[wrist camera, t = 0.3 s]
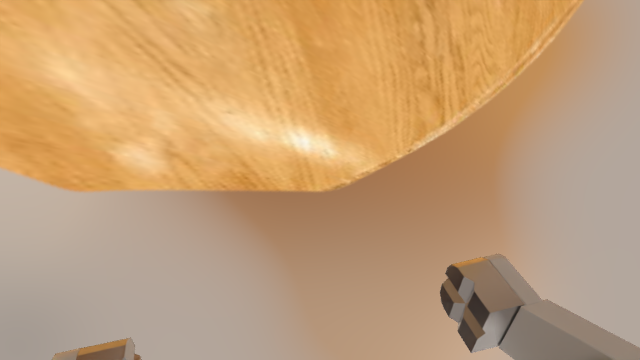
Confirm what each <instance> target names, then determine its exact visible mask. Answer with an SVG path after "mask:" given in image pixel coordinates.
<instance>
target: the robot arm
mask: <svg viewBox="0 0 640 360" xmlns="http://www.w3.org/2000/svg"><path fill="white" fill-rule="evenodd" d="M445 274H446V275H447V276H448V279H447V280H446V281H445V282H444V283H443V284H442V286H441V290H440V296H441V302H442V304H443V307H444V309H445V311H446V313H447V315H448V316H449V317H450V318H451V319H453V320H455V321H456V322H458V333H459V334H460V336H461V338H462V339H463V341H464V342H465V344H466V345H467V347H468V349H469V350H470V352H471V353H473V352H477V351H481V350H485V349H489V348H493V347H497V346H499V348H500V349H501V350H503V351H504V352H505V353H507V354H508V355H509V356H510V357H512V358H513V359H514V360H640V348H639V347H637V346H635V345H633V344H631V343H629V342H627V341H625V340H624V339H622V338H620V337H618V336H616V335H614V334H612V333H610V332H608V331H606V330H605V329H603V328H601V327H599V326H597V325H595V324H593V323H591V322H589V321H587V320H585V319H584V318H582V317H580V316H578V315H576V314H574V313H572V312H570V311H568V310H566V309H564V308H562V307H560V306H559V305H556V304H555V303H553V302H551V301H549V300H542V299H541V298H540V297H539V296H538V295H537V293H536V292H535V291H534V290H533V289H532V288H531V286H530V285H529V284H528V283H527V282H526V281H525V280H524V278H523V277H522V276H521V275H520V274H519V272H517V270H516V269H515V268H514V267H513V265H512V264H511V263H510V262H509V261H508V260H507V258H506V257H505V256H503V255H501V254H495V255H490V256H486V257H482V258H481V257H480V258H476V259H472V260H468V261H464V262H460V263H456V264H452V265H450V266H449V267H448V268H447V271H446V273H445ZM52 360H142V359H141V357H140V355H137V354H135V344H134V342H133V341H132V339H131V338H126V339H121V340H117V341H112V342H108V343H103V344H99V345H94V346H89V347H85V348H79V349H74V350H70V351H66V352H61V353H57V354H55V355H54V357H53V359H52Z"/></svg>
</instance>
